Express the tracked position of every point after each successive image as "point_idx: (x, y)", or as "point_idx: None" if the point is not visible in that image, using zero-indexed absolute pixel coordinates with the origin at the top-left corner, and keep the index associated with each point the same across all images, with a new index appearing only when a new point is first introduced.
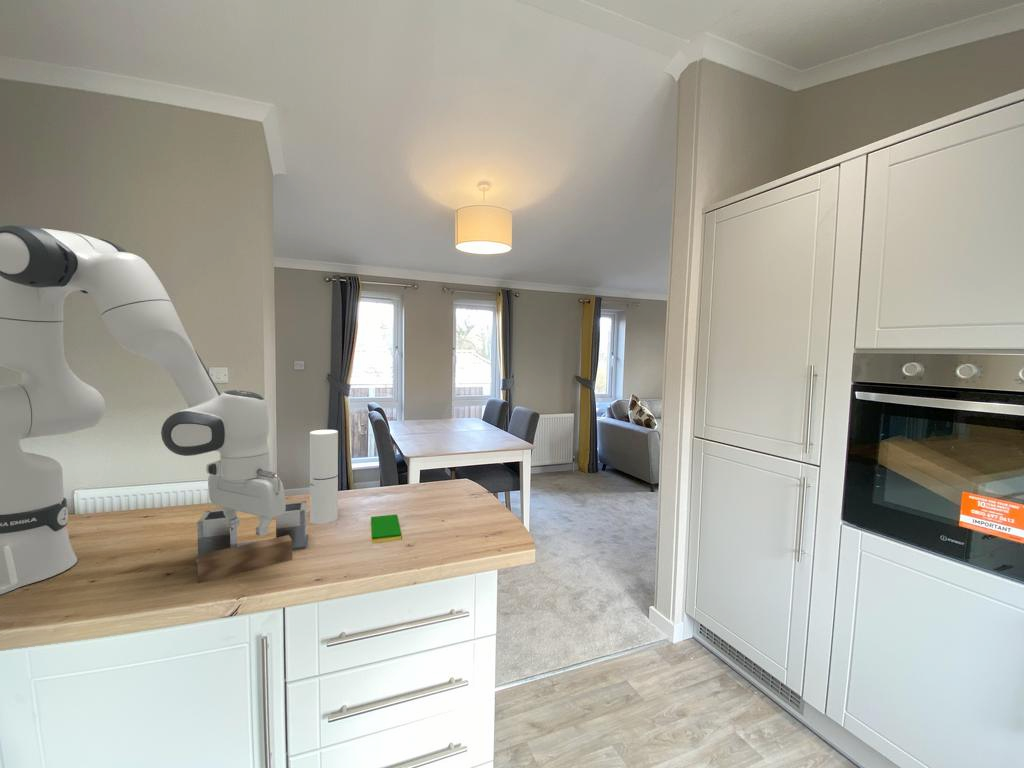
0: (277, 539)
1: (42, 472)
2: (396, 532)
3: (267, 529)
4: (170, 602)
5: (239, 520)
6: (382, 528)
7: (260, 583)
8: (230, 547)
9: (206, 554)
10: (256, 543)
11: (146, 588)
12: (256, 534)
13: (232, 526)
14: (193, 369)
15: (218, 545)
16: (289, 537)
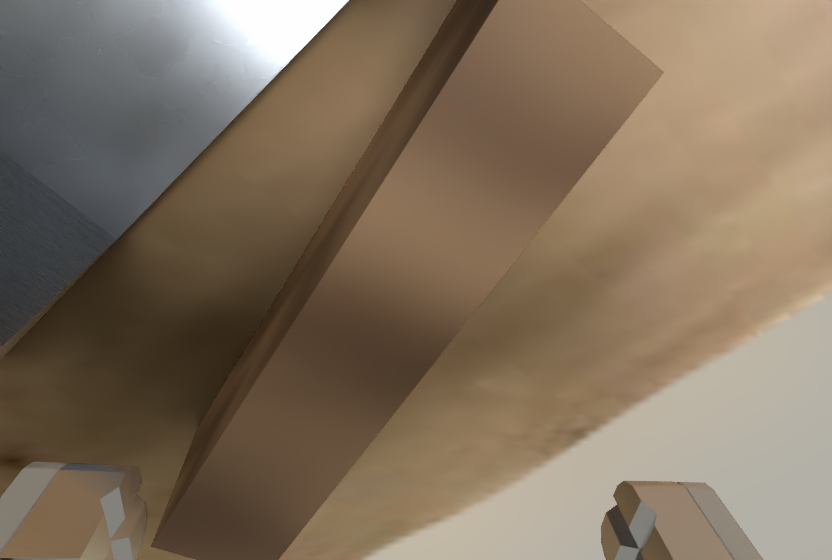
0: (490, 119)
1: None
2: None
3: (732, 529)
4: (327, 556)
5: (100, 519)
6: None
7: (577, 343)
8: (78, 271)
9: (194, 519)
10: (366, 274)
11: None
12: (605, 543)
13: (141, 544)
14: None
15: (8, 346)
16: (590, 21)
